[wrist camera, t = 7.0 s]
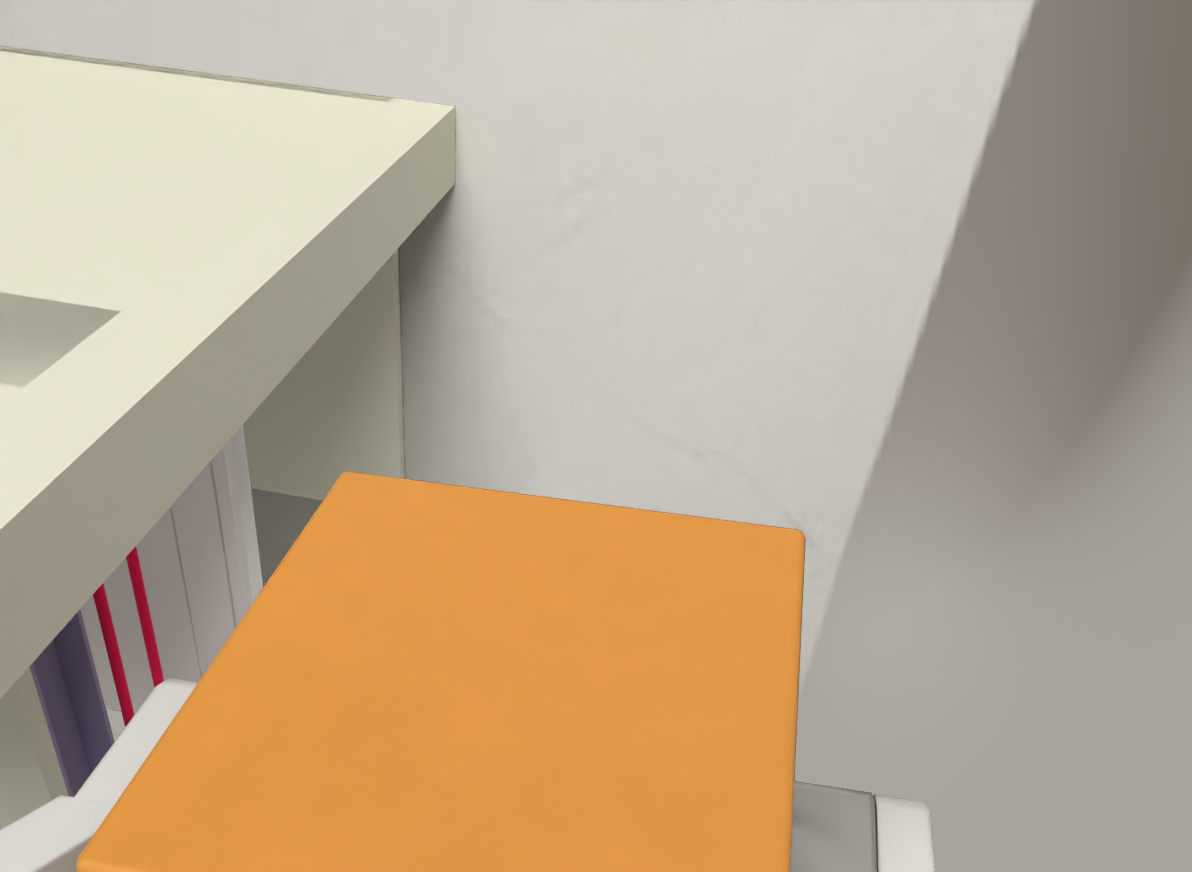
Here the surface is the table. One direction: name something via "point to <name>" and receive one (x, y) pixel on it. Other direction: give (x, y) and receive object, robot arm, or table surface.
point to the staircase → (178, 365)
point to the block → (487, 697)
